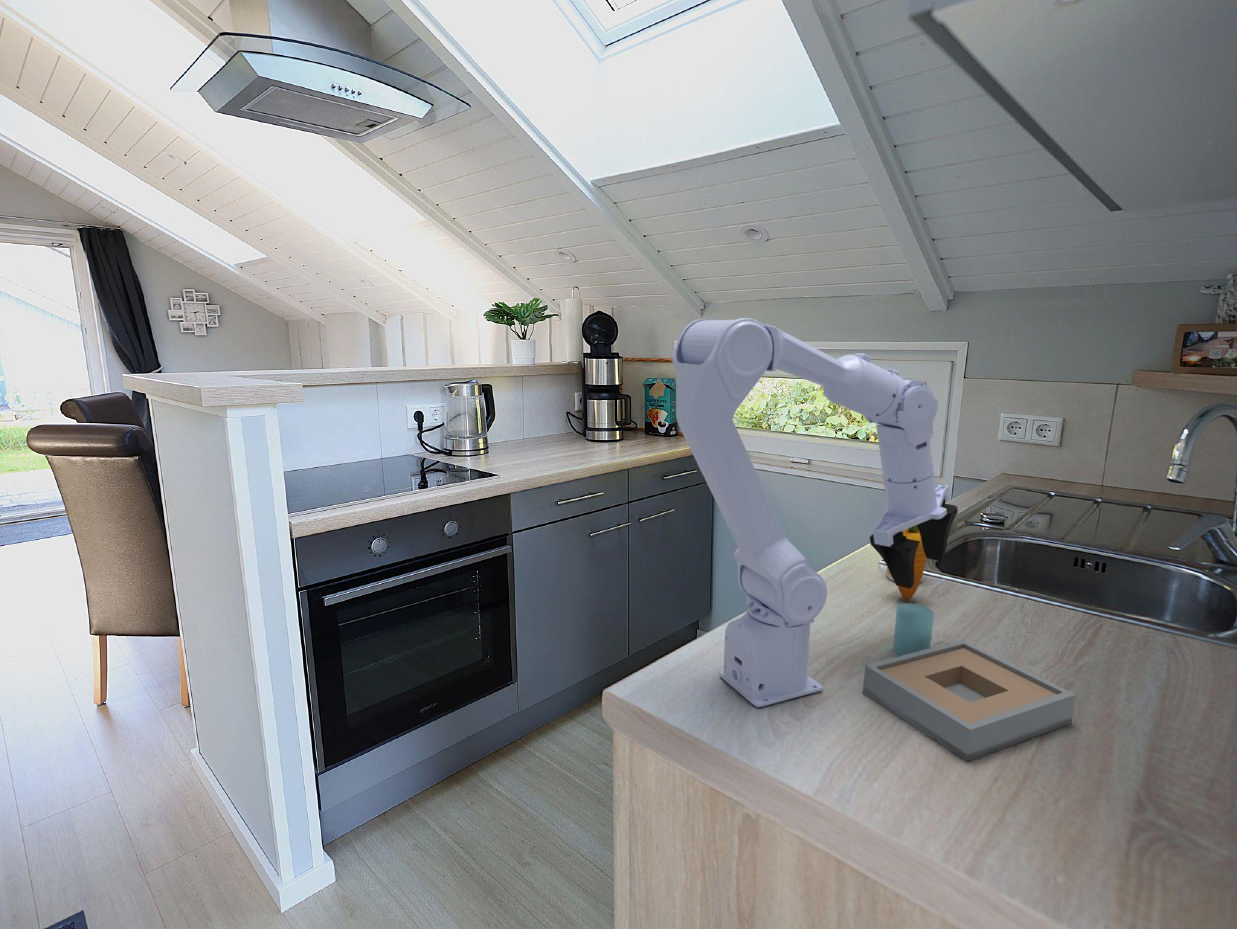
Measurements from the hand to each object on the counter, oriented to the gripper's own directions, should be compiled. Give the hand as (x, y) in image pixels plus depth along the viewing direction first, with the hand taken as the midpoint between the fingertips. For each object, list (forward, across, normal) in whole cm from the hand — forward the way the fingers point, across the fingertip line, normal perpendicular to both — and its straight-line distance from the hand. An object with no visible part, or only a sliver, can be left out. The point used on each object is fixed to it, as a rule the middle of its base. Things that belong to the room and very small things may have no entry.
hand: (920, 571), depth 87 cm
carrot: (+14, +12, +10) cm, 21 cm away
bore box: (+10, -11, -10) cm, 17 cm away
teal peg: (+11, -3, +1) cm, 11 cm away
